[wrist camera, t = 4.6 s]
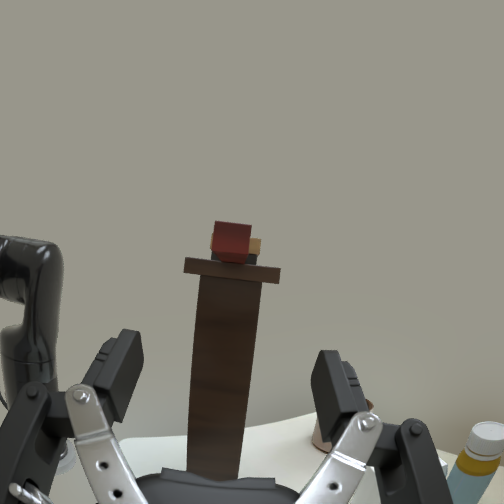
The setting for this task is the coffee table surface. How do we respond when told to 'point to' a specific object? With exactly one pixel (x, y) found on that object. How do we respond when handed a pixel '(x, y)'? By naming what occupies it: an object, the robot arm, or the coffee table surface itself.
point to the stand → (222, 363)
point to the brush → (234, 243)
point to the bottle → (476, 463)
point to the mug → (375, 487)
